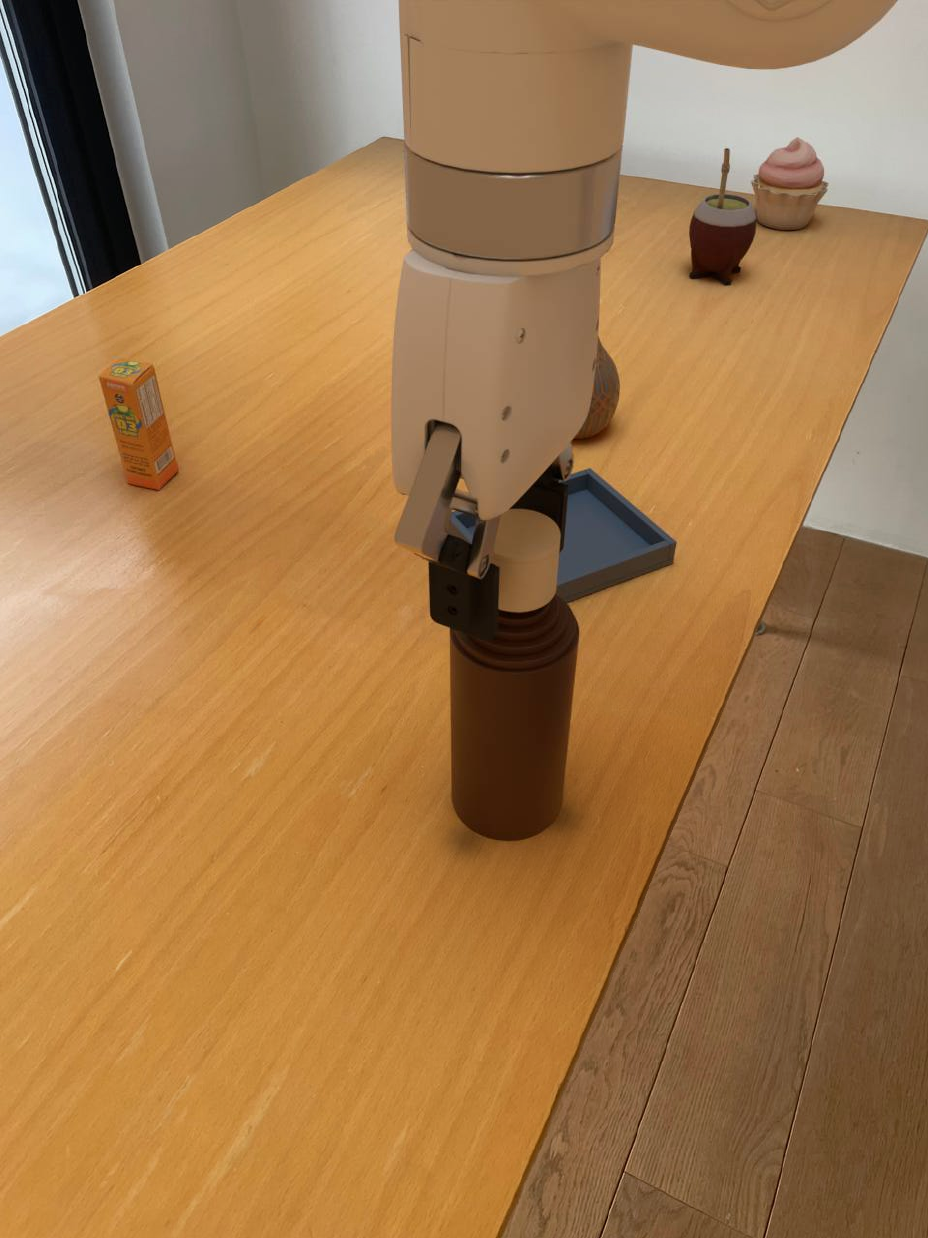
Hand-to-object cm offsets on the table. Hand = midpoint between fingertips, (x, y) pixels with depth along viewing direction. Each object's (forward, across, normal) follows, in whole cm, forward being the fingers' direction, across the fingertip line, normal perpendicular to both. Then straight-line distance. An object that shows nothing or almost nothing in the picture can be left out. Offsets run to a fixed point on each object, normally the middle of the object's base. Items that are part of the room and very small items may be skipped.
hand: (499, 582), depth 48 cm
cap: (0, -1, +1) cm, 1 cm away
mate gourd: (+16, -78, -13) cm, 80 cm away
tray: (+16, -23, -7) cm, 29 cm away
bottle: (+16, 0, +1) cm, 16 cm away
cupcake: (+16, -98, -11) cm, 100 cm away
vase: (+16, -40, -13) cm, 45 cm away
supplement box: (+16, -16, -40) cm, 46 cm away
